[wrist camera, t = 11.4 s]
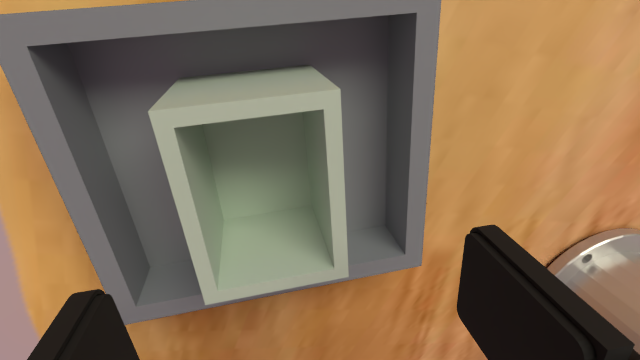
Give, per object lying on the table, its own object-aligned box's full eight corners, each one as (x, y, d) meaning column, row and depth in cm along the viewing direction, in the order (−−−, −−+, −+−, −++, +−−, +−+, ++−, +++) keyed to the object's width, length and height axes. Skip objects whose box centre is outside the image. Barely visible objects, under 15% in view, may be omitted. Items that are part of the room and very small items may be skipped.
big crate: (400, -12, 17) (442, -19, 13) (394, 227, 23) (421, 265, 20) (41, 15, 15) (-23, 16, 11) (141, 272, 21) (120, 325, 17)
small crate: (309, 64, 17) (340, 88, 11) (321, 207, 20) (348, 276, 15) (179, 77, 16) (147, 111, 11) (215, 225, 19) (205, 305, 14)
